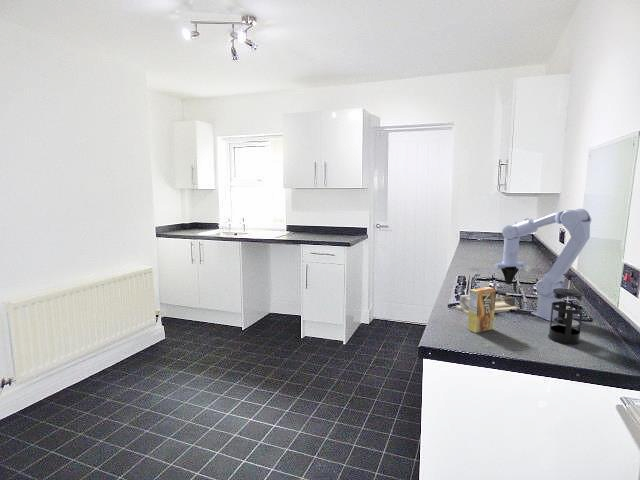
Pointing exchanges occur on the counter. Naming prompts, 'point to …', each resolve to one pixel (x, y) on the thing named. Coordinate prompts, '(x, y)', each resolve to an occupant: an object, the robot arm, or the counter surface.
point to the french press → (565, 316)
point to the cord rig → (500, 304)
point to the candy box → (481, 309)
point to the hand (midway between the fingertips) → (508, 284)
